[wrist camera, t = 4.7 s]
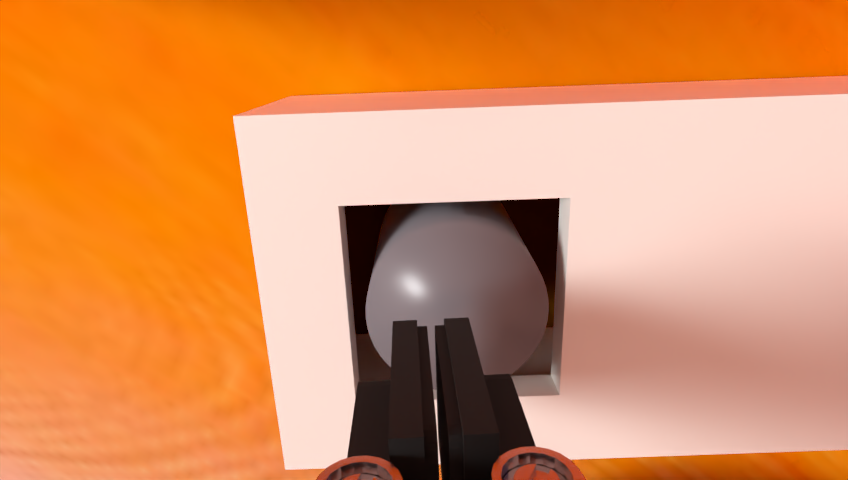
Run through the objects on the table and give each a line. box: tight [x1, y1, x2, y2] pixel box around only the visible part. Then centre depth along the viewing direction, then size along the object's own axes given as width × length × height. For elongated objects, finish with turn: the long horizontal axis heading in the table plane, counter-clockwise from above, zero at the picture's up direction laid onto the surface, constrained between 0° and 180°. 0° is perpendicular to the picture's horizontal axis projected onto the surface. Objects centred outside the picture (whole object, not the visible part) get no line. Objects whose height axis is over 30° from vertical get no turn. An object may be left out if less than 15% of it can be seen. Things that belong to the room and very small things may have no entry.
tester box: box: [233, 76, 848, 470], centre depth 17 cm, size 10×24×6 cm, turn 92°
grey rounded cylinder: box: [366, 200, 549, 390], centre depth 16 cm, size 5×5×6 cm
